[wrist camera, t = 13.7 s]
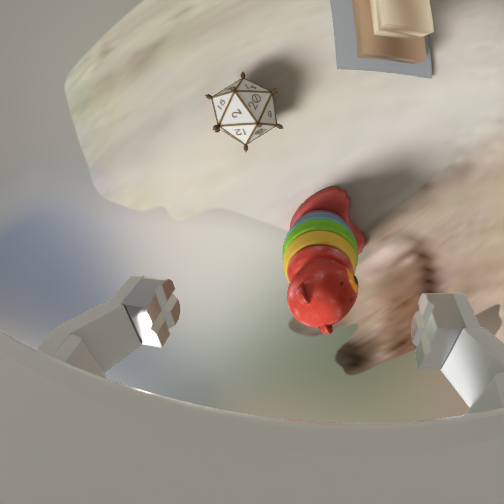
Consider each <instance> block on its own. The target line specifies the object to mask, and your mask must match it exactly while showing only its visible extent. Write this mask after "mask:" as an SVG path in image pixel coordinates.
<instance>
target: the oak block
mask: <svg viewBox="0 0 504 504" xmlns="http://www.w3.org/2000/svg"><path fill="white" fill-rule="evenodd" d="M370 6H371V13H372V21H373V30H374V35H381V36H390V37H397V38H404V39H410V40H416V39H419V38H421V37H423V36H426V35H428V34H430V33H432V32H434V28H433V20H432V13H431V7H430V1H429V0H370Z"/></svg>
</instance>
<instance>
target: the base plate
mask: <svg viewBox="0 0 504 504" xmlns="http://www.w3.org/2000/svg"><path fill="white" fill-rule="evenodd" d="M330 1H331V9H332V17H333V26H334V36H335V46H336V59H337V69H352V70H367V71H379V72H388V73H397V74H405V75H412V76H418V77H424V78H432V67H431V52H430V40H429V34H428V35H426V36H424V37H425V48H426V61H424V62H419V63H415V64H411V63H405V62H397V61H389V60H380V59H369V58H358V54H357V42H356V32H355V23H354V14H353V7H352V0H330Z"/></svg>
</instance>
